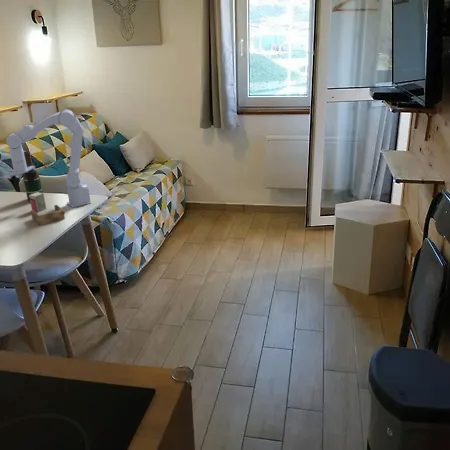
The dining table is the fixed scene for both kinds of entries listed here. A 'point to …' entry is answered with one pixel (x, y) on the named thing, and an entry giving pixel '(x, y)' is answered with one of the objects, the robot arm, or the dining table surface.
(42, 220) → the walnut shelf bay
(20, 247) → the dining table surface
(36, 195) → the small box
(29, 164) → the beer bottle
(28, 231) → the dining table surface
